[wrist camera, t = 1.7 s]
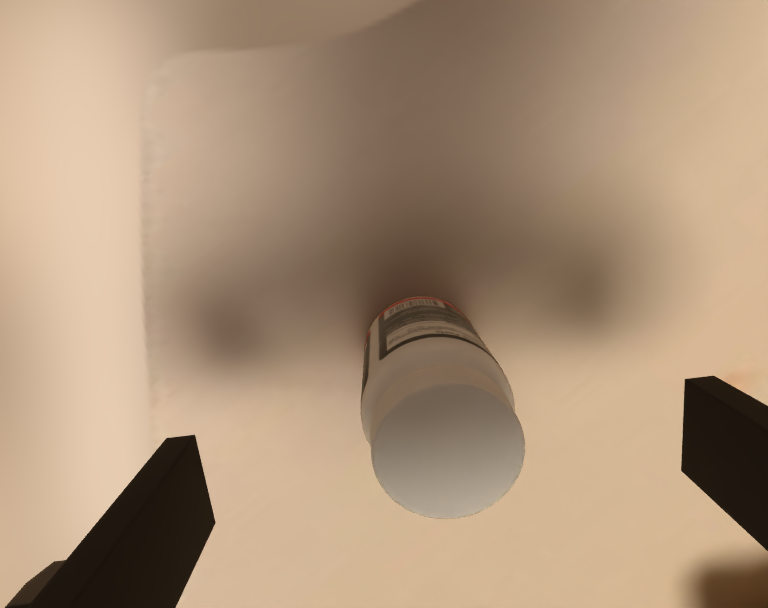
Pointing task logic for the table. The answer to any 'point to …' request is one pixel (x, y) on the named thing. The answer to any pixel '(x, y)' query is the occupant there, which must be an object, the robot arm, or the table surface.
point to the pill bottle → (437, 411)
